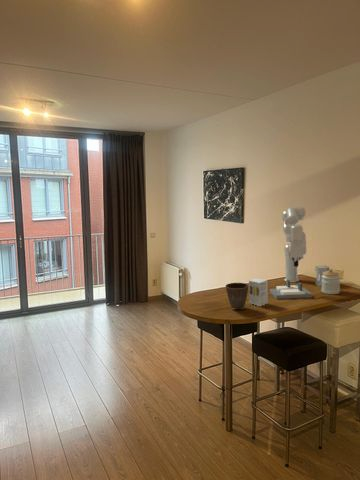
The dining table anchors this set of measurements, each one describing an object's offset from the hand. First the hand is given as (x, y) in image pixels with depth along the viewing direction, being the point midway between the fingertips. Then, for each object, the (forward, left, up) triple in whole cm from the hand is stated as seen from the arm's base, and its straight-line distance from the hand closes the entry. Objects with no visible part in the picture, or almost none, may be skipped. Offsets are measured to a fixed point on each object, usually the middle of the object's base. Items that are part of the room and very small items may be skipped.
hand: (296, 266), depth 268 cm
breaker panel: (+5, -6, -20) cm, 21 cm away
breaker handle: (+10, 0, -15) cm, 18 cm away
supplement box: (+23, -34, -20) cm, 46 cm away
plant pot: (+31, -50, -20) cm, 62 cm away
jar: (+3, +25, -20) cm, 32 cm away
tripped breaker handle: (0, -6, -15) cm, 16 cm away
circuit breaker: (-17, +30, -20) cm, 40 cm away
